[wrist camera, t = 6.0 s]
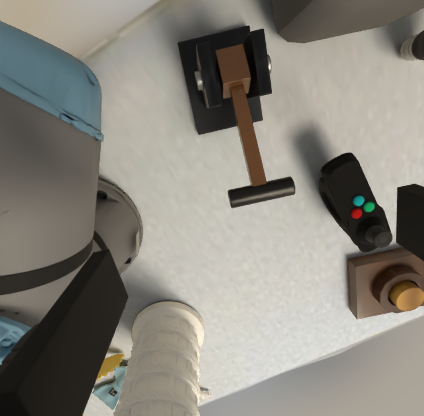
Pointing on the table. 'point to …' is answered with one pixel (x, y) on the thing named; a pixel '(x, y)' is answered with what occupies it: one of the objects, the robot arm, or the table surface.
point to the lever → (246, 130)
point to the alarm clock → (336, 16)
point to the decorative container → (163, 363)
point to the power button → (406, 295)
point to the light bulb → (413, 48)
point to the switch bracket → (209, 83)
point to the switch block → (381, 280)
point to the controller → (354, 203)
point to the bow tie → (112, 388)
